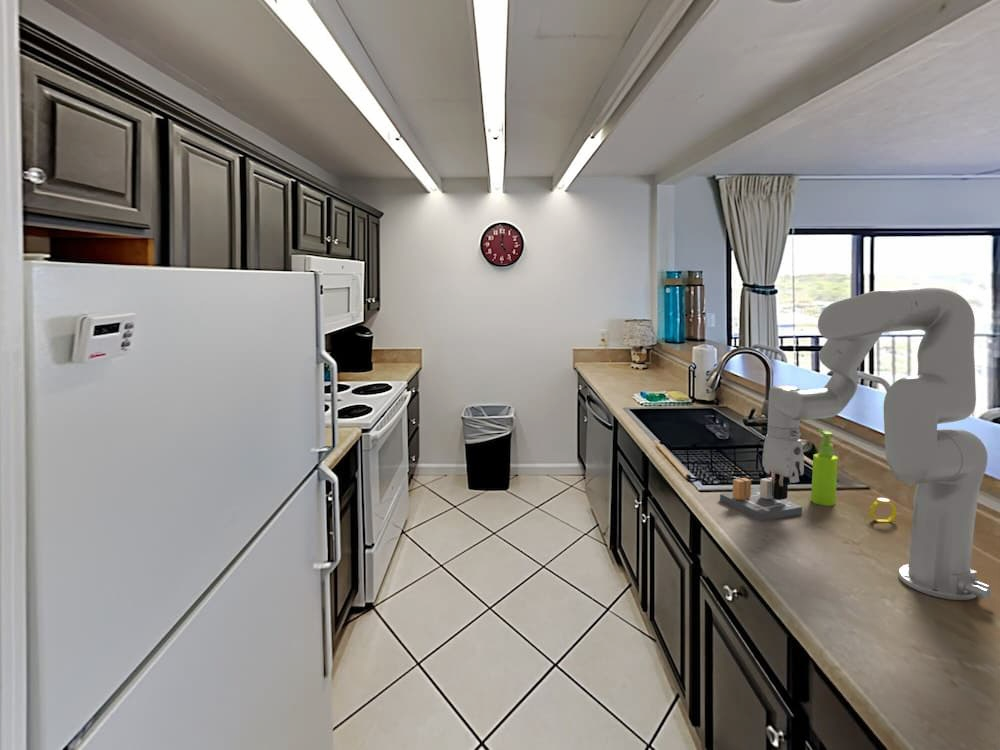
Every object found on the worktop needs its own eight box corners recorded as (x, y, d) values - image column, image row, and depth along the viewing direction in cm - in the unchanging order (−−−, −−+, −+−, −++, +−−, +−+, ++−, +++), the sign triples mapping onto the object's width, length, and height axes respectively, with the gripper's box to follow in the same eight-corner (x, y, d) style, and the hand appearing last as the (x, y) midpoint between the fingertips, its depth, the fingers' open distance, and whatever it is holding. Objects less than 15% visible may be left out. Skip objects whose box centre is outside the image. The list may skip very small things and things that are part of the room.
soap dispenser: (827, 496, 159) (831, 428, 156) (839, 505, 152) (843, 434, 149) (805, 496, 160) (809, 428, 157) (816, 505, 153) (820, 434, 150)
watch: (873, 524, 140) (873, 502, 139) (867, 520, 143) (867, 498, 142) (898, 523, 140) (898, 500, 139) (891, 518, 142) (891, 496, 142)
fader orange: (750, 497, 154) (751, 479, 153) (738, 499, 152) (739, 481, 152) (744, 494, 156) (744, 477, 155) (732, 496, 155) (732, 479, 154)
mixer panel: (802, 514, 147) (802, 506, 147) (762, 521, 143) (762, 513, 143) (756, 494, 162) (757, 487, 162) (720, 500, 158) (720, 493, 158)
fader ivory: (778, 497, 153) (779, 479, 153) (766, 499, 152) (767, 481, 151) (771, 494, 156) (771, 476, 155) (759, 496, 155) (760, 478, 154)
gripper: (818, 437, 142) (814, 506, 144) (772, 424, 156) (769, 487, 158) (794, 440, 139) (791, 510, 142) (750, 427, 153) (748, 491, 156)
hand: (780, 498), depth 150 cm, fingers closed
